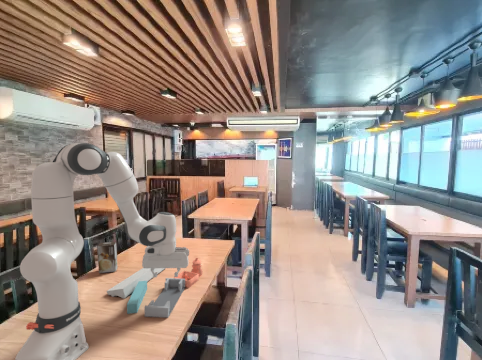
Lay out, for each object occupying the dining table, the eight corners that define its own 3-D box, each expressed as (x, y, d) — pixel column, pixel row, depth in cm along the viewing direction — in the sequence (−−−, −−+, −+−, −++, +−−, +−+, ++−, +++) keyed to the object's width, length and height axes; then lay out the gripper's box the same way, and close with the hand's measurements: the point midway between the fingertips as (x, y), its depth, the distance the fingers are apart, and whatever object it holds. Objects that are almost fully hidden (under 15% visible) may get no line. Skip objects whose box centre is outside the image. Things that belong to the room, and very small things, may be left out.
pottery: (188, 289, 127) (188, 270, 126) (173, 285, 130) (173, 267, 129) (207, 274, 143) (207, 257, 142) (193, 271, 147) (193, 255, 146)
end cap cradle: (168, 319, 102) (168, 307, 102) (144, 318, 103) (144, 306, 103) (185, 288, 127) (185, 278, 127) (166, 287, 128) (166, 277, 127)
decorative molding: (109, 300, 119) (125, 298, 116) (106, 291, 119) (122, 288, 116) (152, 270, 152) (166, 268, 149) (150, 262, 152) (164, 260, 149)
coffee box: (118, 267, 151) (117, 241, 150) (115, 271, 145) (114, 244, 144) (101, 268, 149) (100, 242, 147) (98, 273, 142) (97, 246, 141)
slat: (137, 314, 106) (136, 303, 105) (127, 315, 105) (126, 304, 105) (147, 290, 126) (147, 280, 125) (138, 290, 125) (138, 281, 124)
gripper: (189, 244, 117) (189, 273, 118) (145, 244, 115) (145, 273, 116) (188, 249, 111) (188, 279, 112) (141, 249, 109) (141, 280, 110)
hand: (165, 276), depth 114 cm, fingers open, 8 cm apart
